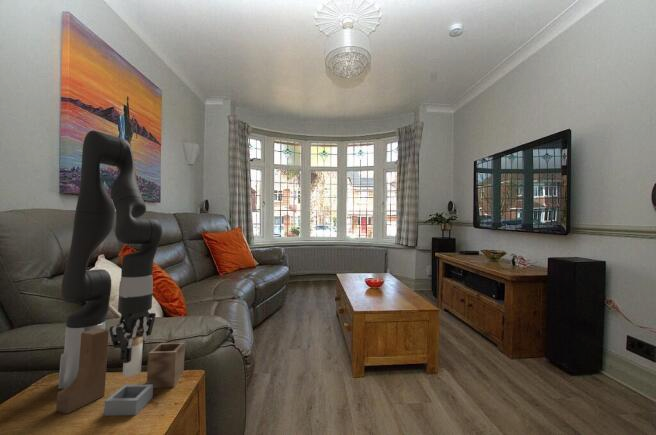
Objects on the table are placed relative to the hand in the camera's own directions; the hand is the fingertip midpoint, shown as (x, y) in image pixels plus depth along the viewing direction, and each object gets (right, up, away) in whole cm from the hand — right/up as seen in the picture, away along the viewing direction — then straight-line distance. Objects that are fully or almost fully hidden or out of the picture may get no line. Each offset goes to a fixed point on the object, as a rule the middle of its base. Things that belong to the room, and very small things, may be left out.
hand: (132, 358), depth 75 cm
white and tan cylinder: (0, -4, 0) cm, 4 cm away
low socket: (0, -12, -1) cm, 12 cm away
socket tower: (+2, -13, +12) cm, 18 cm away
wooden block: (-14, -12, 0) cm, 18 cm away
